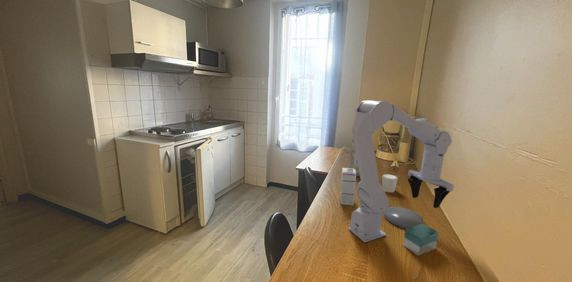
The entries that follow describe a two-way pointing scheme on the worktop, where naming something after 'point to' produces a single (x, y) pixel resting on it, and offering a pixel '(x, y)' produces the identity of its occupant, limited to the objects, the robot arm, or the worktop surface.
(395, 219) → the slate stand
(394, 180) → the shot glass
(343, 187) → the syrup box
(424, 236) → the block
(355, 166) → the juice carton
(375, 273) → the worktop surface
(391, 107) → the robot arm
